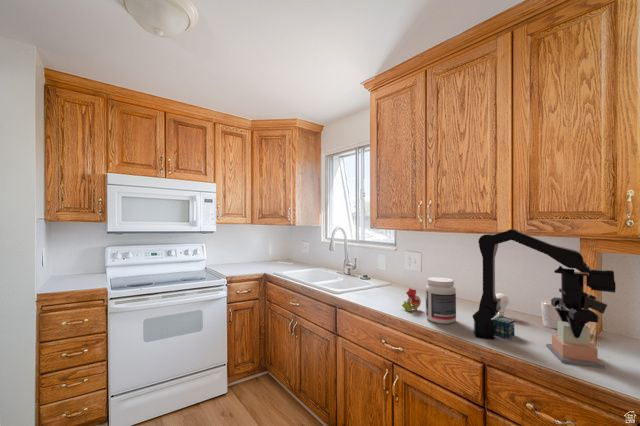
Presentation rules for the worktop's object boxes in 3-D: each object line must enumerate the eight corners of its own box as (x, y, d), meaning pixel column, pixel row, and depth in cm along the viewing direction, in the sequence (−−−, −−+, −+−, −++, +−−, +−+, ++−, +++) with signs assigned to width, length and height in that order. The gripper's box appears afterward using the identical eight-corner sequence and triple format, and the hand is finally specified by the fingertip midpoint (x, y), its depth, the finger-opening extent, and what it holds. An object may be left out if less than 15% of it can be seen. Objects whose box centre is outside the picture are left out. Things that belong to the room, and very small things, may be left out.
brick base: (561, 362, 95) (561, 346, 95) (546, 346, 107) (546, 332, 107) (605, 368, 91) (605, 352, 91) (584, 351, 104) (583, 336, 104)
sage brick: (563, 342, 98) (563, 325, 98) (557, 337, 103) (557, 320, 103) (589, 345, 96) (589, 328, 96) (582, 340, 100) (582, 323, 100)
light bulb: (495, 318, 138) (495, 294, 138) (490, 313, 144) (490, 291, 145) (511, 319, 136) (511, 295, 137) (506, 315, 143) (506, 291, 143)
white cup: (565, 326, 128) (564, 302, 128) (564, 331, 122) (563, 306, 122) (542, 322, 133) (542, 299, 134) (540, 326, 127) (540, 303, 128)
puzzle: (498, 331, 122) (497, 316, 122) (514, 335, 118) (514, 320, 118) (491, 334, 119) (491, 319, 119) (508, 339, 114) (508, 323, 114)
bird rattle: (411, 312, 154) (397, 306, 151) (419, 291, 155) (405, 285, 153) (419, 316, 148) (404, 310, 145) (427, 294, 149) (412, 288, 147)
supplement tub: (462, 322, 132) (462, 280, 133) (442, 326, 127) (442, 283, 127) (439, 314, 144) (438, 275, 144) (419, 318, 138) (419, 278, 138)
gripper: (620, 296, 88) (621, 349, 88) (588, 284, 106) (588, 328, 106) (574, 293, 92) (574, 344, 92) (550, 281, 110) (550, 324, 109)
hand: (573, 334), depth 99 cm, fingers open, 5 cm apart
